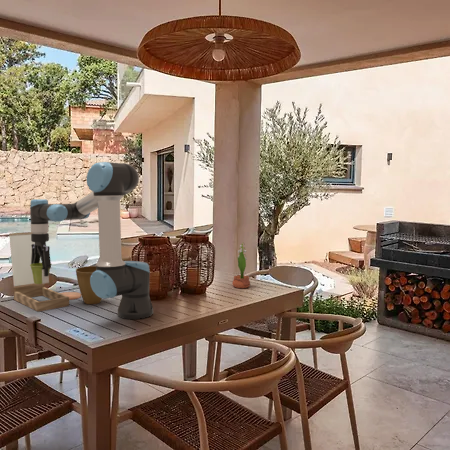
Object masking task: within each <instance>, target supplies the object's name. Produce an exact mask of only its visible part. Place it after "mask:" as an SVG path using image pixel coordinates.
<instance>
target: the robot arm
mask: <svg viewBox="0 0 450 450" xmlns="http://www.w3.org/2000/svg"><path fill="white" fill-rule="evenodd" d="M139 176H140V175H139V172H138V171H137V169H136V168H135V167H134V166H133V165H131V164H128V163H124V162H122V163H121V162H109V161H102V162H101V161H100V162H96V163H94V164H92V165H91V167H90V168H89V169H88V172H87V174H86V185H87V188H89V190H90V191H91V192H90V193H88V194H87V195H85V196H83V197H82V198H80V199H78V200H77V201H76V202H74V203H52V204H51V203H49V201H48V199H45V198H43V199H42V198H40V199H39V198H38V199H37V198H36V199H35V198H34V199H31V200H30V204H29V207H30V208H29V211H30V232H32V234H31V241H32V242H35V244H32V245H31V246H32V255H31V264H35V263H39V262H40V257H41V263H42V266H43V268H42V283H43V284H44V283H45V284H49V283H50V272H49V268H50V269H51V268H52V265H51V264H52V262H51V261H52V260H51V254H50V253H51V252H50V248H51V247H50V245H49V246H48V245H47V242H49V241H50V235H49V231H50V230H49V227H50V224H49V221H50V222H54V223H56V222H63V221H73V220H75V221H77V220H86V219H88V218H89V217H90V215H91V213H92V212H94V211H96V210H97V217H98V220H97V221H98V243H99V244H98V247H99V250H98V251H99V260H98V262H97V263H96V264H95V266H96V271H95V272H93V273H92V275H91V277H90V284H91V288H92V290H93V292H95V294H96V295H97V296H98V297H100V298H102V300H105V299H106V300H107V299H113V298H115V297H118V296H121V299H120V302H119V305H118V308H117V317H120V318H122V319H127V320H141V319H140V318H142V319H145V317H147V318H149V316H150V317H151V315H152V314H153V315H154V308H153V304H152V301H151V298H150V276H151V275H150V274H151V272H150V265H149V263H147V262H145V261H136V260H123V259H122V256H123V255H122V233H121V232H122V230H121V229H122V227H121V200H122V199H123V197H125V196H126V195H128V194H130V193H131V192H133V191H134V190H135V189H136V188H137V186H138V185H139V181H140V177H139ZM153 315H152V316H153Z"/></svg>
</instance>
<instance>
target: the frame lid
mask: <svg viewBox="0 0 450 450" xmlns="http://www.w3.org/2000/svg"><path fill="white" fill-rule="evenodd" d="M31 234H32V232H31V231H27V232H12V233H10V232H9V233H8V237H9V243H10V257H11V268H12V280H13V281H12V282H13V287H19V286H26V285H33V284H35V283H34V279H33V273H32V269H31V266H30V265H31V255H32V246H31V245H32V244H35V242H32V241H31ZM39 263H42V261H41V257H40V262H39Z"/></svg>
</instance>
